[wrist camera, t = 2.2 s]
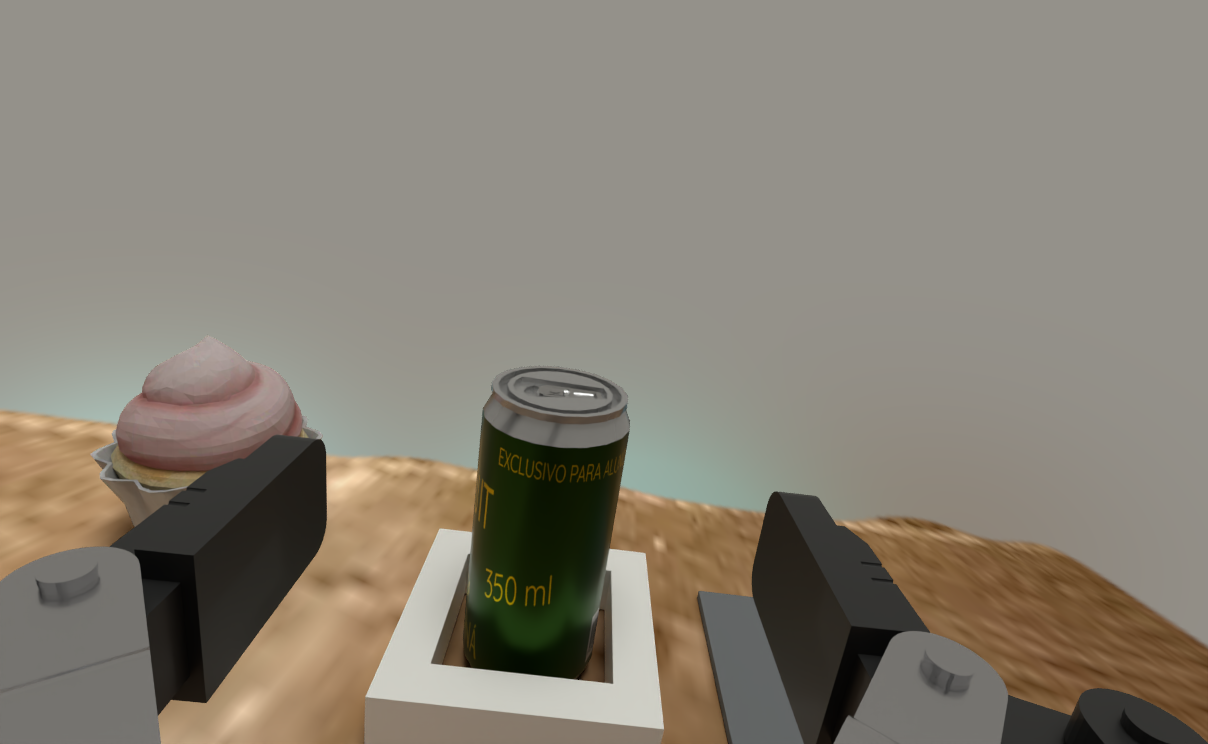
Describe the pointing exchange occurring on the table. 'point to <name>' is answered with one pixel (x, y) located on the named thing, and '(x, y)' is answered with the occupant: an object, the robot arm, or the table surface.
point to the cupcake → (194, 424)
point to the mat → (746, 672)
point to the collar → (511, 700)
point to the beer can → (543, 519)
